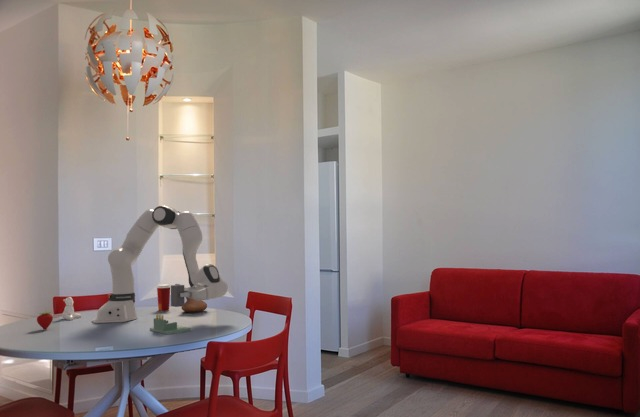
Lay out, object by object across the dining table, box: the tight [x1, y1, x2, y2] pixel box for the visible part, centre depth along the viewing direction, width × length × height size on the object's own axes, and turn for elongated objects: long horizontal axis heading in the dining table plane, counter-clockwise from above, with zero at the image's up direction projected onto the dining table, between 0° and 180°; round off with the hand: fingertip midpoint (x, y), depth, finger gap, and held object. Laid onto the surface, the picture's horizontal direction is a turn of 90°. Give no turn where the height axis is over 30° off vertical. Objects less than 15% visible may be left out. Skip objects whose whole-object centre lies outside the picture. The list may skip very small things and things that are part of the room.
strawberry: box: [36, 310, 54, 330], centre depth 262 cm, size 6×8×10 cm
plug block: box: [170, 283, 186, 308], centre depth 259 cm, size 5×5×11 cm
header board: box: [149, 313, 191, 335], centre depth 255 cm, size 12×16×8 cm
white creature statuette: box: [61, 296, 82, 321], centre depth 292 cm, size 10×9×12 cm
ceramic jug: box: [181, 286, 208, 314], centre depth 309 cm, size 18×14×14 cm
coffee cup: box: [156, 283, 171, 312], centre depth 317 cm, size 8×8×15 cm
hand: (176, 294), depth 258 cm, fingers closed on plug block, 5 cm apart
